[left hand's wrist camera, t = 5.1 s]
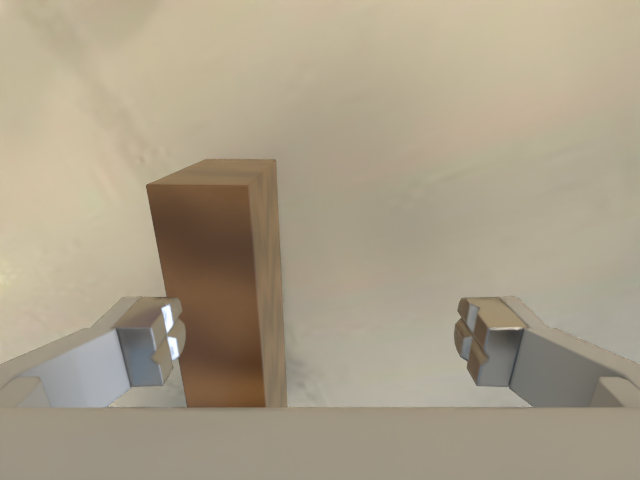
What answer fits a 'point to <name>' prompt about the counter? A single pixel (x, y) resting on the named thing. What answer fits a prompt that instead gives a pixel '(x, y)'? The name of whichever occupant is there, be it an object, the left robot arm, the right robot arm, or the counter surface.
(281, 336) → the bar
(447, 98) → the counter surface
